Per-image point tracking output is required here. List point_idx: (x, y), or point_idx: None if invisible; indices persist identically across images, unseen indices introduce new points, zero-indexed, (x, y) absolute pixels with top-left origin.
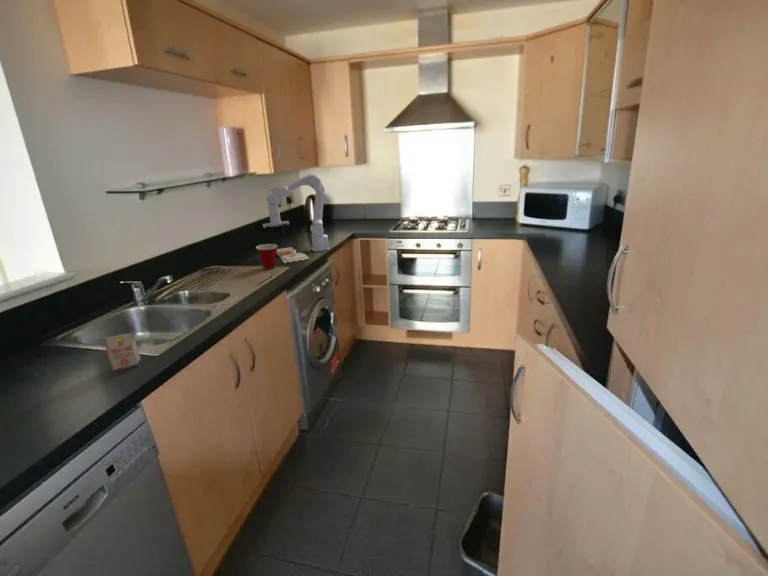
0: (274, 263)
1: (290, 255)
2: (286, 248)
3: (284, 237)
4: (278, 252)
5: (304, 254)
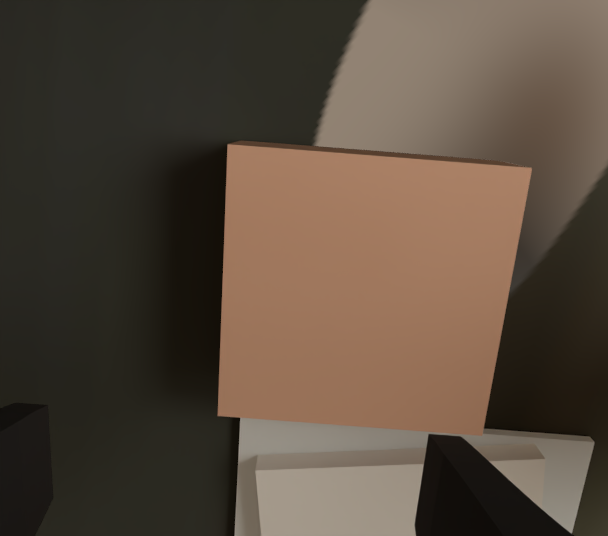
0: None
1: (364, 529)
2: (410, 217)
3: (421, 482)
4: (219, 394)
5: (566, 498)
